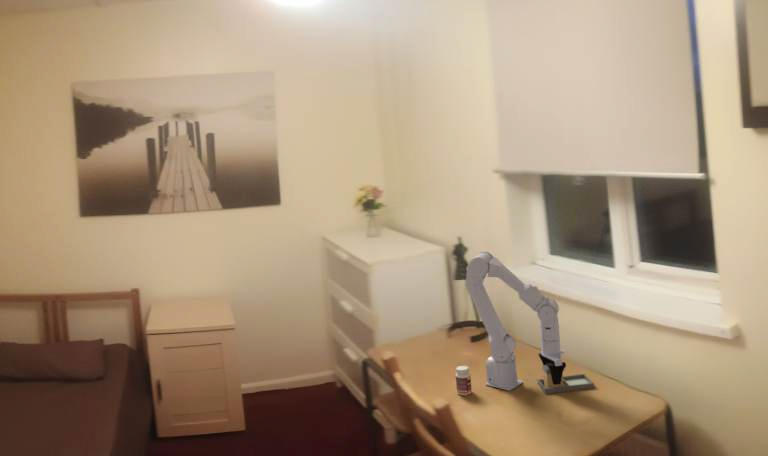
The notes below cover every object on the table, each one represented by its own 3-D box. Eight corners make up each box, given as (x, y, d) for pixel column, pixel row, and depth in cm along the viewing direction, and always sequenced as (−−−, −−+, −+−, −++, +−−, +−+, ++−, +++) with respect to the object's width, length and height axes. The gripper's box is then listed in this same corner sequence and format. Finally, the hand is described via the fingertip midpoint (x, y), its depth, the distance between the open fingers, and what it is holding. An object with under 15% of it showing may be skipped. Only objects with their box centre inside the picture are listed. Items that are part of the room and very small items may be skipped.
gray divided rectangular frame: (545, 393, 200) (544, 389, 200) (537, 383, 208) (537, 379, 208) (593, 387, 201) (593, 383, 200) (584, 378, 209) (584, 373, 208)
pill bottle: (471, 395, 205) (469, 370, 204) (456, 395, 206) (454, 371, 204) (472, 389, 209) (470, 364, 208) (457, 389, 210) (455, 365, 209)
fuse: (547, 391, 202) (546, 369, 201) (544, 386, 206) (542, 365, 205) (563, 389, 202) (562, 367, 201) (559, 384, 206) (558, 363, 205)
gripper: (570, 344, 195) (573, 386, 197) (555, 330, 209) (558, 369, 211) (547, 347, 194) (550, 389, 197) (534, 332, 209) (537, 372, 211)
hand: (553, 379), depth 204 cm, fingers open, 7 cm apart
